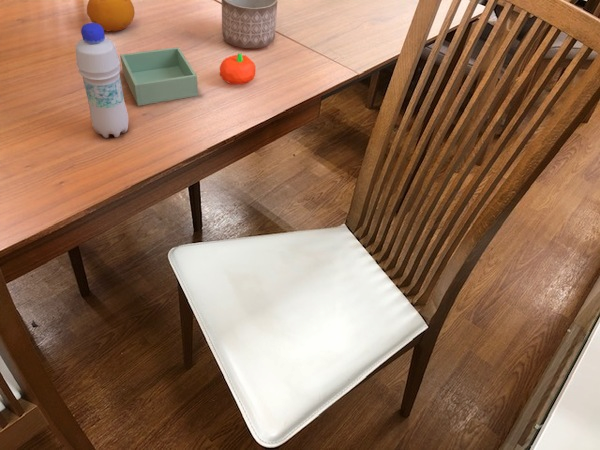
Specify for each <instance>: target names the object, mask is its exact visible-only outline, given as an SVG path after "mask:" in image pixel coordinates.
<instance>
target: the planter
mask: <svg viewBox="0 0 600 450" xmlns="http://www.w3.org/2000/svg"><path fill="white" fill-rule="evenodd" d="M277 13H278V0H221V35H222V38H223V40H224V41H225V42H227V43H228V44H230V45H232V46H235V47H238V48H242V49H261V48H265V47H267V46H269V45H271V44H273V42H274V41H275V38H276V30H277V29H276V28H277Z"/></svg>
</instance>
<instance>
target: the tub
mask: <svg viewBox="0 0 600 450" xmlns="http://www.w3.org/2000/svg"><path fill="white" fill-rule="evenodd" d="M119 56H120V64H121V69H122V73H123V77H124V79H125V82H126V84H127V85H128V87H129V90H130V92H131V95H132V97H133V98H134V100H135V103H136V104H137V105H136V106H137V107H139V106H146V105H152V104H157V103H163V102H170V101H176V100H181V99H187V98H194V97H198V96H199V87H198V75H197V73H196V72H195V70H194V69H193V67H192V65H191V64H190V62H189V61H188V59H187V58H186V56H185V54H184V53H183V51H182V50H181V48H180V46H177V47H170V48H169V47H168V48H162V49H161V48H159V49H153V50H146V51H145V50H144V51H137V52H129V53H122V54H119Z"/></svg>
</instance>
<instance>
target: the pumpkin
mask: <svg viewBox="0 0 600 450" xmlns="http://www.w3.org/2000/svg"><path fill="white" fill-rule="evenodd" d="M219 76H220V77H221V79H222V80H223V81H225V82H227V84H231V85H245V84H249V83H250V82H251V81H253V80H254V79H255V76H256V65H255V62H254V61H253V60H252V59H250V57H248V56H247V55H246V54H242V53H237V54H235V55H234V54H233V55H230V56H228V57H225V58H224V59H223V60H222V62H221V63H220V65H219Z"/></svg>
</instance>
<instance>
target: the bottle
mask: <svg viewBox="0 0 600 450" xmlns="http://www.w3.org/2000/svg"><path fill="white" fill-rule="evenodd" d="M80 33H81V37H82V38H81V39H79V40H78V41H77V42H76V43H75V58H76V66H77V68H78V73H79V75H80V76H81V77H82V81H83V87H84V88H85V94H86V99H87V102H88V108H89V114H90V120H91V125H92V127H93V129H94V131H95V133H96V134H98V135H101V136H102V137H103V138H106V139H108V138H109V137H110V135H113V136H114V138H119V137H120V134H126V132H127V131H128V129H129V122H130V121H129V119H130V118H129V114H128V110H127V105H126V102H125V97H124V91H123V85H122V81H121V74H120V73H121V69H122V66H120V64H121V59H120V58H119V54H118V51H117V47H116V46H115V42H113V40H111V39H110V38H108V37H106V36H105V35H106V34H105V30H103V28H102V26H101V25H99V24H97V23H93V22H87V23H85V24H83V25H82V26H81V28H80Z"/></svg>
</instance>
